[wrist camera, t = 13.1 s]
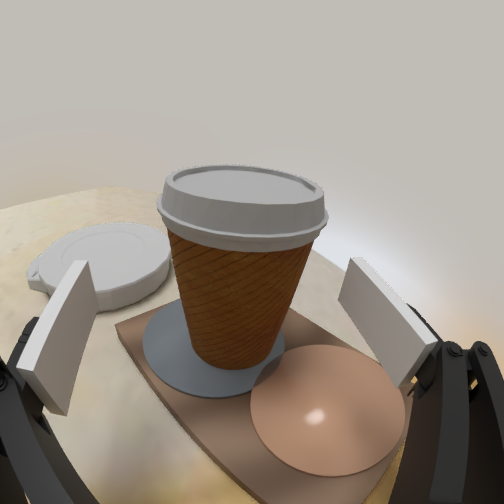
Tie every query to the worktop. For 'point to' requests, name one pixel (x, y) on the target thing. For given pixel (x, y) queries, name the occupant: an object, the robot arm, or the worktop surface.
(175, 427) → the worktop surface
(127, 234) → the lid
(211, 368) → the slate disc
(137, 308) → the worktop surface
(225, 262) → the disposable coffee cup
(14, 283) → the worktop surface
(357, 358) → the terracotta disc
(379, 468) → the walnut board
